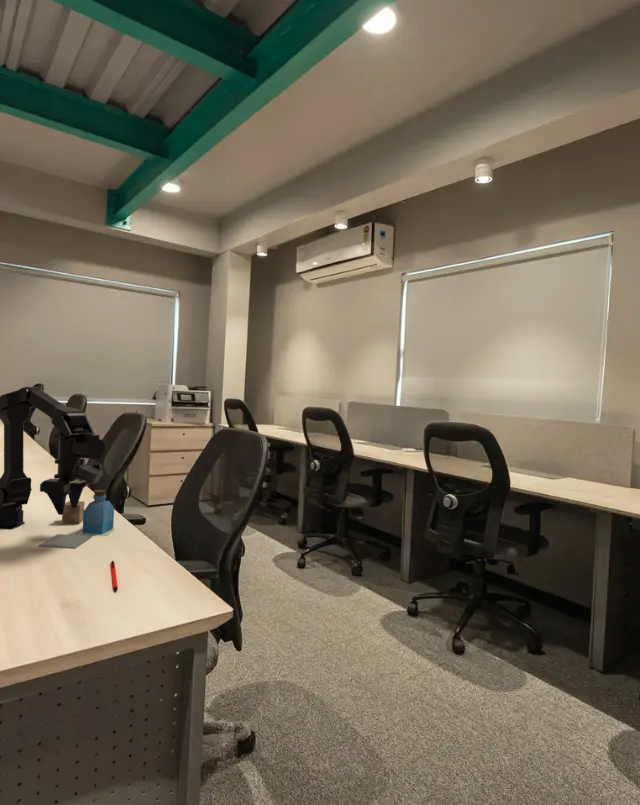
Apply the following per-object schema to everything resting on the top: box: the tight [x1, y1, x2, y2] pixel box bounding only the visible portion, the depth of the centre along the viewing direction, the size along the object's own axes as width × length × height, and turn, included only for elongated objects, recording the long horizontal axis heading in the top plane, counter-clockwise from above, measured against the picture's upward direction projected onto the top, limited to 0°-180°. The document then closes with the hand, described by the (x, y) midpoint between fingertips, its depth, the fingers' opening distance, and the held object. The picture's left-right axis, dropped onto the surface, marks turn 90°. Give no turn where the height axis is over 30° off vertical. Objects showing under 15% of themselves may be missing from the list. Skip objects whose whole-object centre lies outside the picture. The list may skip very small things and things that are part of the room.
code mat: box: [76, 528, 115, 537], centre depth 147 cm, size 9×9×1 cm
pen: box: [110, 560, 119, 593], centre depth 115 cm, size 1×19×1 cm, turn 25°
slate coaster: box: [37, 533, 93, 549], centre depth 136 cm, size 10×10×1 cm
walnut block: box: [61, 500, 86, 525], centre depth 154 cm, size 5×5×6 cm
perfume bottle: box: [82, 489, 115, 534], centre depth 147 cm, size 6×6×12 cm
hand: (67, 511), depth 136 cm, fingers open, 7 cm apart
